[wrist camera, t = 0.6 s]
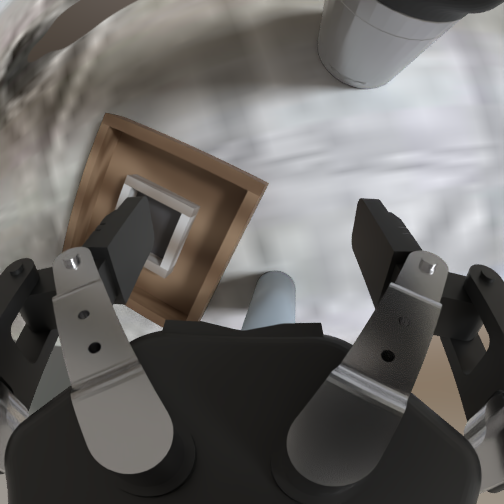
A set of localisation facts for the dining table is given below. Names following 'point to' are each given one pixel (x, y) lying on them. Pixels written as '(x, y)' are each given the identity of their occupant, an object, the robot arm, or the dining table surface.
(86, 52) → the dining table surface
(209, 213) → the wooden box
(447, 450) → the robot arm
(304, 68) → the dining table surface
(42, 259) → the dining table surface
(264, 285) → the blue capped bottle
